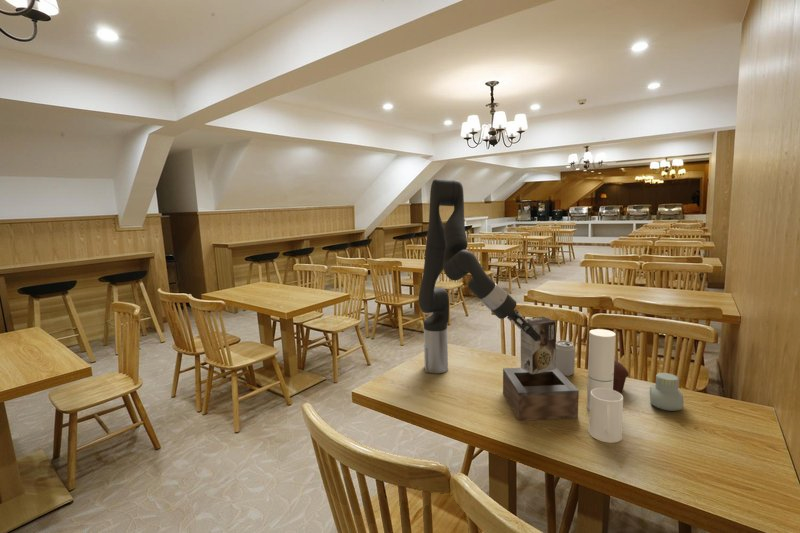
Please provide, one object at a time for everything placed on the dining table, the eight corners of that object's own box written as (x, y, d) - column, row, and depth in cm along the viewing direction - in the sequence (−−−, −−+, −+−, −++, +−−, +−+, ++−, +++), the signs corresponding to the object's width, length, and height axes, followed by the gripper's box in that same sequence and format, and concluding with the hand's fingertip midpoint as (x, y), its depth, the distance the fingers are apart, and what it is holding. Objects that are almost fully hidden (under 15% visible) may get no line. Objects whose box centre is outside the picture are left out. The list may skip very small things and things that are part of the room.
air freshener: (648, 396, 133) (650, 367, 131) (678, 401, 129) (681, 371, 127) (651, 411, 123) (653, 381, 122) (683, 417, 119) (686, 386, 118)
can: (577, 376, 149) (578, 346, 147) (557, 377, 149) (558, 346, 147) (569, 368, 156) (570, 339, 154) (550, 369, 156) (551, 339, 154)
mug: (622, 453, 104) (624, 410, 102) (586, 444, 108) (588, 403, 106) (621, 429, 114) (623, 390, 112) (588, 423, 118) (590, 385, 116)
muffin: (583, 384, 142) (584, 358, 141) (606, 378, 146) (608, 352, 145) (611, 399, 131) (612, 370, 130) (635, 392, 135) (637, 364, 133)
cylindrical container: (614, 407, 126) (618, 332, 122) (607, 417, 121) (611, 338, 117) (590, 400, 131) (593, 327, 127) (583, 409, 126) (586, 333, 122)
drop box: (518, 420, 121) (518, 392, 119) (503, 392, 139) (503, 368, 137) (577, 418, 121) (578, 390, 119) (554, 390, 139) (555, 366, 137)
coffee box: (543, 363, 133) (543, 316, 131) (556, 370, 127) (556, 320, 124) (519, 367, 130) (519, 319, 128) (532, 374, 124) (532, 324, 122)
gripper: (512, 297, 117) (551, 333, 119) (500, 287, 131) (534, 320, 133) (494, 315, 118) (533, 351, 119) (484, 303, 132) (518, 335, 134)
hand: (533, 334), depth 126 cm, fingers closed on coffee box, 7 cm apart
